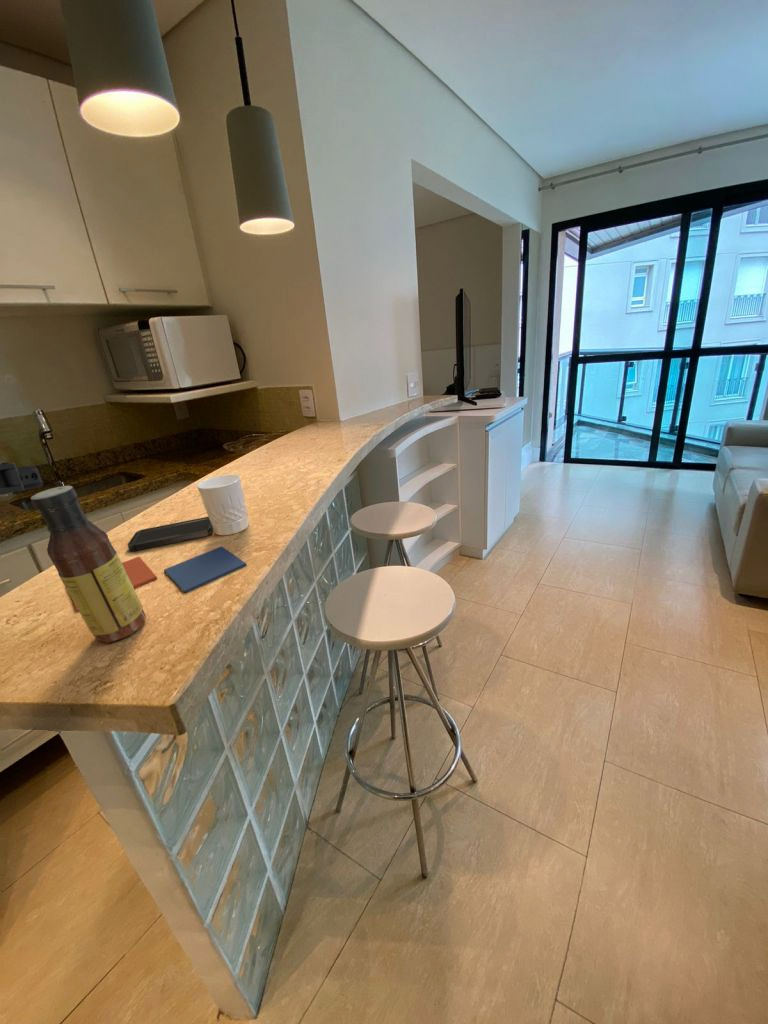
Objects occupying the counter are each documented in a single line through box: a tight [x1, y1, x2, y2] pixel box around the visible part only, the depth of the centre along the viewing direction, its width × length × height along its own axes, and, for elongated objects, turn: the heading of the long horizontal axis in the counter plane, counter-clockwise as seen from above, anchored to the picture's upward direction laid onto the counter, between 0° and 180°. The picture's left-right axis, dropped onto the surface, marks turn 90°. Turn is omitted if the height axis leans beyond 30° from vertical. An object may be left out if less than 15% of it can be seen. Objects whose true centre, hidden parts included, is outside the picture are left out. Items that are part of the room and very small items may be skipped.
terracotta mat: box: [72, 556, 158, 613], centre depth 66 cm, size 11×11×1 cm
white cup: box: [196, 474, 250, 536], centre depth 80 cm, size 8×8×10 cm
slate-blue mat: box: [163, 545, 247, 594], centre depth 67 cm, size 10×10×1 cm
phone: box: [127, 516, 214, 552], centre depth 81 cm, size 8×1×15 cm
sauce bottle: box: [30, 485, 147, 644], centre depth 50 cm, size 6×6×20 cm
